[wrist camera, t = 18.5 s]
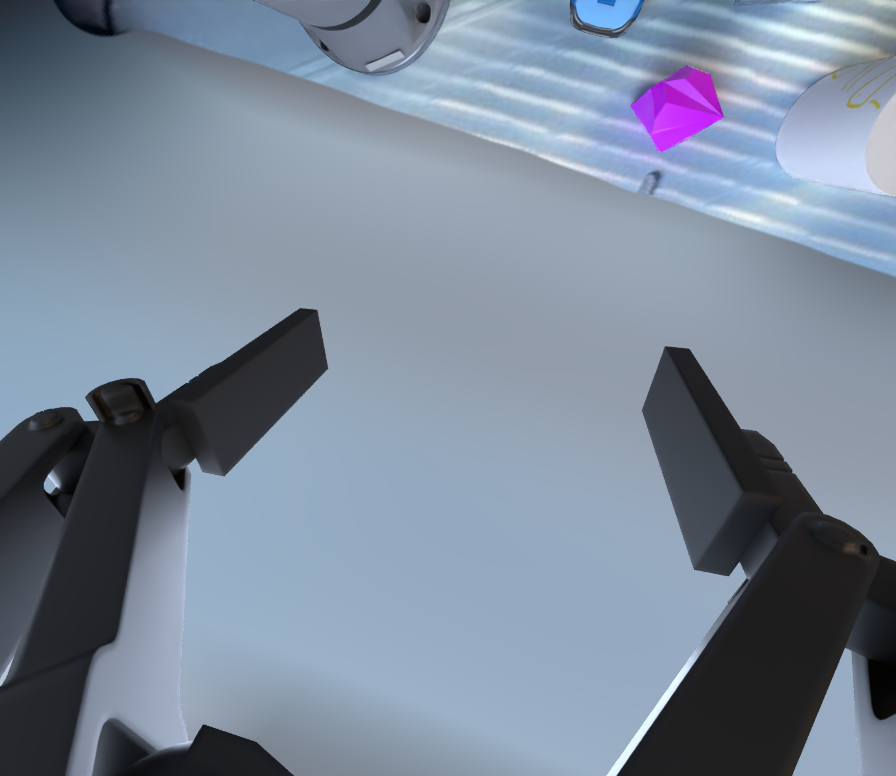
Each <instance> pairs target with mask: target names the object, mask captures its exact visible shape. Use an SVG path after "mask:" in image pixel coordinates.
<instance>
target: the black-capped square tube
mask: <svg viewBox="0 0 896 776" xmlns="http://www.w3.org/2000/svg"><path fill="white" fill-rule="evenodd" d="M820 1H823V0H735V4H734V5H745V4H770V3H795V2H820Z"/></svg>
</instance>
